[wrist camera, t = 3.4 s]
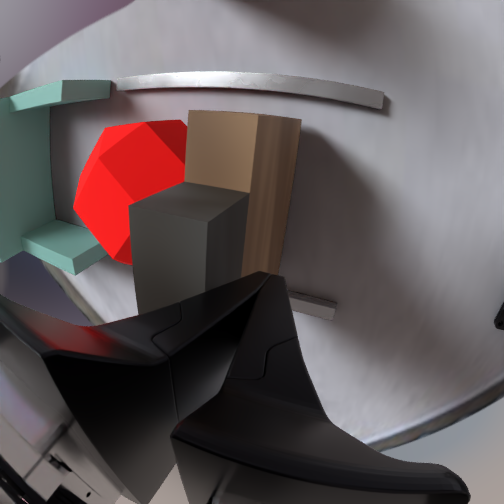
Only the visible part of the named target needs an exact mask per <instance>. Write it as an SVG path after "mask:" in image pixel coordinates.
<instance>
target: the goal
mask: <svg viewBox="0 0 504 504" xmlns="http://www.w3.org/2000/svg"><path fill="white" fill-rule="evenodd" d="M110 86H111V80H62V81H58V82H54V83H51V84H47V85H44V86H41V87H37V88H34V89H31V90H28V91H25V92H22V93H19V94H16V95H14V96H11V97H6V98H0V262H3V261H5V260H7V259H8V258H10V257H12V256H14V255H15V254H17V253H19V252H21V251H23V250H24V251H26V252H28V253H30V254H32V255H34V256H36V257H38V258H40V259H42V260H44V261H46V262H48V263H50V264H52V265H54V266H56V267H58V268H60V269H62V270H64V271H67V272H69V273H71V274H73V275H75V276H76V275H77V274H79V273H80V272H82V271H83V270H85V269H86V268H88V267H89V266H91V265H92V264H94V263H95V262H97V261H98V260H100V259H102V258H103V257H105V256H106V255H108V253H107V252H106V250H105V249H104V248H103V247H102V245H101V244H100V243H99V242H98V240H97V239H96V238H95V236H94V235H93V234H92V233H91V231H90V230H89V229H87V228H84V227H80V226H77V225H74V224H70V223H67V222H64V221H60V220H57V219H56V217H55V209H54V200H53V190H52V178H51V163H50V107H51V106H56V105H62V104H68V103H75V102H82V101H89V100H97V99H107V98H110Z"/></svg>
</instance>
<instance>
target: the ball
mask: <svg viewBox="0 0 504 504" xmlns="http://www.w3.org/2000/svg"><path fill="white" fill-rule="evenodd" d="M186 142H187V126H186V125H185V124H184V123H183V122H182V121H181V120H164V121H150V122H140V123H133V124H126V125H119V126H113V127H107V128H105V129H104V131H103V133H102V135H101V136H100V138H99V140H98V142H97V144H96V145H95V147H94V149H93V151H92V153H91V155H90V157H89V159H88V161H87V163H86V165H85V167H84V169H83V171H82V173H81V175H80V179H79V183H78V188H77V192H76V197H75V202H74V207H73V209H74V210H75V211H76V213H77V214H78V216H79V217H80V218H81V220H82V221H83V222H84V224H85V225H86V226H87V227H88V229H89V230H90V231H91V233H92V234H93V235H94V236H95V238H96V239H97V240H98V242H99V243H100V244H101V245H102V247H103V248H104V249H105V250H106V252H107V253H108V254H109V255H110V256H111V258H112V259H113V260H116V261H118V262H120V263H124V264H128V265H132V254H131V242H130V227H129V208H128V205H130V204H133V203H135V202H137V201H139V200H142V199H144V198H146V197H149V196H151V195H153V194H156V193H158V192H160V191H163V190H165V189H168V188H170V187H172V186H175V185H177V184H180V183H182V182H184V180H185V159H186Z"/></svg>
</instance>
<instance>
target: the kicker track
mask: <svg viewBox="0 0 504 504" xmlns="http://www.w3.org/2000/svg"><path fill="white" fill-rule="evenodd" d="M156 88H234V89H250V90H263V91H274V92H283V93H291V94H299V95H306V96H313V97H320V98H326V99H331V100H337V101H342V102H347V103H352V104H357V105H362V106H366V107H371V108H375V109H379V110H381V109H382V106H383V98H384V92H381V91H377V90H373V89H368V88H364V87H359V86H354V85H349V84H344V83H338V82H332V81H326V80H320V79H313V78H305V77H297V76H288V75H277V74H265V73H248V72H179V73H162V74H150V75H140V76H131V77H123V78H117V90H116V91H127V90H140V89H156ZM287 291H288V290H287ZM288 295H289V299H290V304H291V308H292V310H293V311H296V312H300V313H304V314H308V315H312V316H316V317H320V318H324V319H328V320H333V317H334V313H335V310H336V305H337V303H335V302H331V301H327V300H323V299H319V298H315V297H311V296H307V295H304V294H300V293H296V292H292V291H288Z"/></svg>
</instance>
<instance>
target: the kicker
mask: <svg viewBox="0 0 504 504" xmlns="http://www.w3.org/2000/svg"><path fill="white" fill-rule="evenodd" d="M301 121H302V119H295V118H289V117H281V116H273V115H265V114H255V113H243V112H227V111H204V110H189V114H188V127H187V142H186V159H185V180H184V182H182V183H180V184H177V185H175V186H172V187H170V188H168V189H165V190H163V191H160V192H158V193H156V194H153V195H151V196H149V197H146V198H144V199H142V200H139V201H137V202H135V203H133V204H130V205H128V208H129V227H130V242H131V254H132V265H133V274H134V283H135V292H136V300H137V307H138V314H139V315H140V314H144V313H147V312H150V311H154V310H157V309H160V308H163V307H165V306H168V305H171V304H174V303H176V302H179V303H180V301H182V300H184V299H187V298H190V297H192V296H195V295H198V294H200V293H203V292H205V291H208V290H211V289H213V288H216V287H218V286H221V285H224V284H226V283H229V282H231V281H234V280H237V279H239V278H242V277H244V276H247V275H249V274H252V273H254V272H257V271H263V272H267V273H270V274H271V275H272V274H275V275H278V273H279V267H280V261H281V255H282V249H283V243H284V237H285V230H286V224H287V218H288V212H289V205H290V199H291V192H292V185H293V179H294V172H295V165H296V158H297V151H298V143H299V136H300V129H301Z"/></svg>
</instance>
